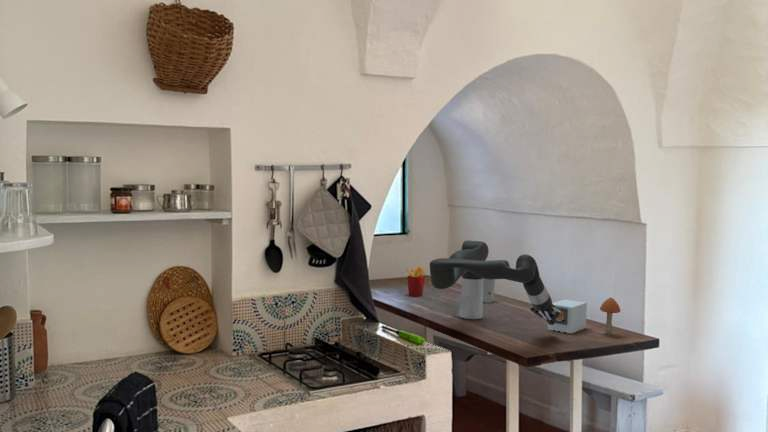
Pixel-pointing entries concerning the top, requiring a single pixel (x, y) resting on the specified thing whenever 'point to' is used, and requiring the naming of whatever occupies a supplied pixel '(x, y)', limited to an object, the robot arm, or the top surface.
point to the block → (570, 316)
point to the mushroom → (609, 313)
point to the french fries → (416, 282)
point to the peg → (561, 316)
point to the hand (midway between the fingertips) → (552, 323)
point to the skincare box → (488, 290)
